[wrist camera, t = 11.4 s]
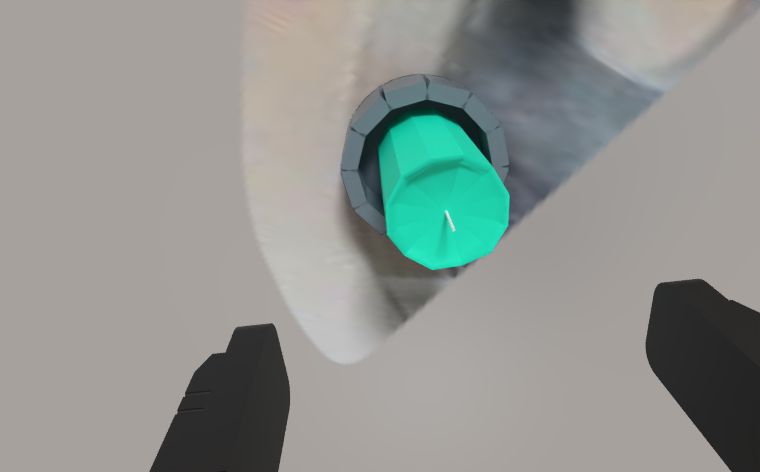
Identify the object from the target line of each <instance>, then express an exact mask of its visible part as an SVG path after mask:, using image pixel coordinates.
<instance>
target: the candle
mask: <svg viewBox="0 0 760 472" xmlns="http://www.w3.org/2000/svg"><path fill="white" fill-rule="evenodd" d="M378 158H379V171H380V179H381V187H382V196H383V204H384V212H385V221H386V229H387V235H388V236H389V238H390V239H391V240H392V241H393V243H394V244H395V245H396V246H397V247H398V249H399V250H400V251H401V252H402V253H403V255H404V256H406V257H408V258H410V259H412V260H414V261H416V262H418V263H420V264H421V265H423V266H425V267H427V268H429V269H431V270H437V269H443V268H449V267H455V266H462V265H464V264H467V263H469V262H471V261H474V260H476V259H478V258H480V257H483V256H485V255H487V254H490V253H491V252H492V251H493V249H494V248H495V246H496V244H497V243H498V241H499V239H500V238H501V236H502V235H503V233H504V231H505V230H506V228H507V227H508V216H509V197H510V195H509V193H508V192H507V190H506V188H505V186H504V185H503V183H502V181H501V180H500V178H499V176H498V175H497V173H496V171H495V169H494V168H493V167H492V165H491V164H490V163H489V162H488V160H487V159H486V158H485V157H484V155H483V154H482V153H481V152H480V150H479V149H478V148H477V147H476V145H475V144H474V143H473V142H472V141H471V139H470V138H469V137H468V136H467V134H466V133H465V132H464V131H463V129H462V128H461V127H460V126H459V124H458V123H457V122H456V121H455V119H453V118H451V117H449V116H448V115H446V114H444V113H442V112H440V111H438V110H436V109H434V108H427V109H412V110H408V111H406V112H405V113H403V114H402V115H400V116H399V117H397V118H396V119H394V120H393V121H391V122H390V123H388V125H387V127H386V129H385V131H384V133H383V135H382V137H381V139H380V141H379V143H378Z"/></svg>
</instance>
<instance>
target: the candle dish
mask: <svg viewBox="0 0 760 472" xmlns="http://www.w3.org/2000/svg"><path fill="white" fill-rule="evenodd" d="M427 108H434V109H436V110H438V111H440V112H442V113H444V114H446V115H448V116H449V117H451V118H453V119H455V121H456V122H457V123H458V124H459V126H460V127H461V128H462V129H463V131H464V132H465V133H466V134H467V136H468V137H469V138H470V139H471V141H472V142H473V143H474V144H475V145H476V147H477V148H478V149H479V150H480V152H481V153H482V154H483V155H484V157H485V158H486V159H487V160H488V162H489V163H490V164H491V165H492V167H493V168H494V169H495V171H496V173H497V175H498V176H499V178H500V180H501V181H502V183H504V180H505V177H506V175H507V172H508V167H507V166H506V165H509V161H508V155H507V149H506V143H505V137H504V131H503V127H502V126H501V125H500V122H499V120H498V119H497V118H496V117H495V116H494V115H493V114H492V113H491V112H490V111H489V110H488V108H487V107H486V106H485V105H484V104H483V103H482V102H481V101H480V100H479V99H478V98H477V96H476V95H475V94H474V93H472V92H471V91H470V90H469V89H467V88H466V87H465V86H463V85H462V84H460V83H456V82H453V81H451V80H449V79H446V78H443V77H440V76H435V75H428V74H415V75H407V76H403V77H399V78H396V79H394V80H391V81H389V82H387V83H385V84H383V85H381V86H380V87H378V88H377V89H376V90H374V91H373V92H372V93H371V94H369V95H368V96H367V97H366V98H365V99H364V101H363V102H362V103H361V104H360V105H359V107H358V108H357V110H356V112H355V113H354V114H353V115H352V119H350V122H349V127H348V130H347V133H346V140H345V144H344V149H343V153H342V161H341V175H342V178H343V181H344V184H345V187H346V190H347V193H348V196H349V199H350V202H351V205H352V208H355V212H356V213H357V214H358V215H359V216H361V217H362V218H363V219H364V220H365V221H366V222H368V223H369V224H370V225H371V226H372V227H373V228H374V229H376V230H377V231H378V232H379V233H380V234H381V235H382V234H384V233H385V236H386V237H389V236H388V235H387V229H386V221H385V212H384V204H383V196H382V187H381V179H380V171H379V158H378V143H379V141H380V139H381V137H382V135H383V133H384V131H385V129H386V127H387V125H388V123H390V122H391V121H393V120H394V119H396V118H397V117H399V116H400V115H402V114H403V113H405V112H406V111H408V110H412V109H427Z"/></svg>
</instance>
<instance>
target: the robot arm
mask: <svg viewBox="0 0 760 472" xmlns="http://www.w3.org/2000/svg"><path fill="white" fill-rule="evenodd" d="M646 354H647V358H648V361H649V364H650V366H651V368H652V370H653V372H654V373H655V374H656V376H657V377H658V378H659V380H660V381H661V382H662V383H663V385H664V386H665V387H666V389H667V390H668V391H669V392H670V394H671V395H672V396H673V398H674V399H675V400H676V401H677V403H678V404H679V405H680V407H681V408H682V409H683V410H684V412H685V413H686V414H687V415H688V417H689V418H690V419H691V421H692V422H693V423H694V424H695V426H696V427H697V428H698V429H699V431H700V432H701V433H702V434H703V436H704V437H705V438H706V440H707V441H708V442H709V443H710V445H711V446H712V447H713V449H714V450H715V451H716V452H717V454H718V455H719V456H720V458H721V459H722V460H723V461H724V463H725V464H726V465H727V466H728V468H729V469H730V470H731V471H732V472H760V313H759V312H757V311H755V310H752V309H750V308H748V307H746V306H744V305H742V304H740V303H738V302H735V301H733V300H728V299H727V298H725V297H724V296H723V295H721V294H720V293H719V292H718V291H717V290H715V289H714V288H713V287H712V286H711V285H709V284H708V283H707V282H705V281H704V280H702V279H692V280H682V281H674V282H664V283H660V284H658V286H657V287H656V289H655V291H654V296H653V302H652V308H651V314H650V319H649V325H648V331H647V337H646ZM289 407H290V387H289V380H288V376H287V372H286V367H285V363H284V359H283V355H282V351H281V347H280V343H279V339H278V335H277V331H276V328H275V326H274V325H273V324H272V323H270V324H262V325H252V326H243V327H237V328H236V329H235V330H234V332H233V335H232V338H231V340H230V343H229V345H228V348H227V350H226V353H217V354H212V355H211V356H210V357H209V358H208V359H207V360H206V361H205V362H204V363H203V364H202V365H201V366H200V367H199V368H198V369H197V370H196V371H195V373H194V375H193V377H192V379H191V381H190V383H189V385H188V388H187V390H186V392H185V397H183V399H182V401H181V403H180V405H179V408H178V410H177V411H178V413H177V415H175V417H174V419H173V421H172V423H171V425H170V428H169V430H168V432H167V434H166V436H165V438H164V441H163V443H162V445H161V447H160V449H159V452H158V454H157V456H156V458H155V461H154V463H153V465H152V467H151V469H150V472H278V469H279V464H280V458H281V453H282V447H283V442H284V436H285V430H286V425H287V419H288V414H289Z"/></svg>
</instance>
